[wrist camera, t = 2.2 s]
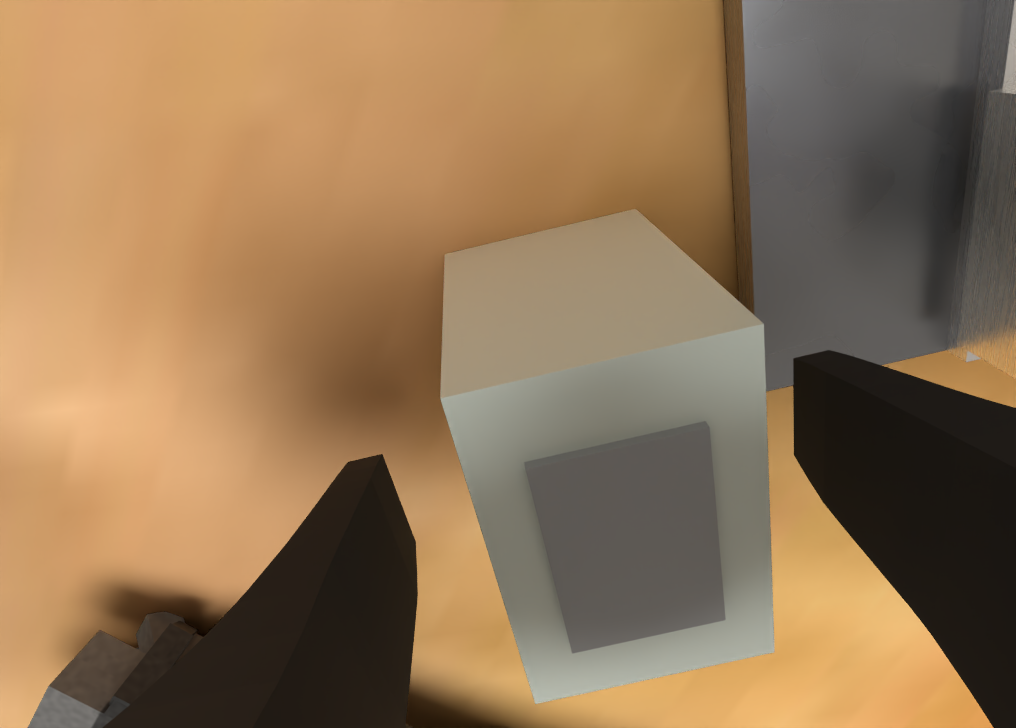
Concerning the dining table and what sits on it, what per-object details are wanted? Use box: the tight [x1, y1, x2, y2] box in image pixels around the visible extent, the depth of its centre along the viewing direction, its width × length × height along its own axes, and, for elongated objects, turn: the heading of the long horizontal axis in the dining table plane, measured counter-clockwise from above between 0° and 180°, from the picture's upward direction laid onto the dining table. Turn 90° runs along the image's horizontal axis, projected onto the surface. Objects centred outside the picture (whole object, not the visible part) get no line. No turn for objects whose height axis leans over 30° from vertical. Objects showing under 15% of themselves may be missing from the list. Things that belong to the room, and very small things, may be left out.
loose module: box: [440, 209, 774, 704], centre depth 12 cm, size 4×6×6 cm, turn 12°
